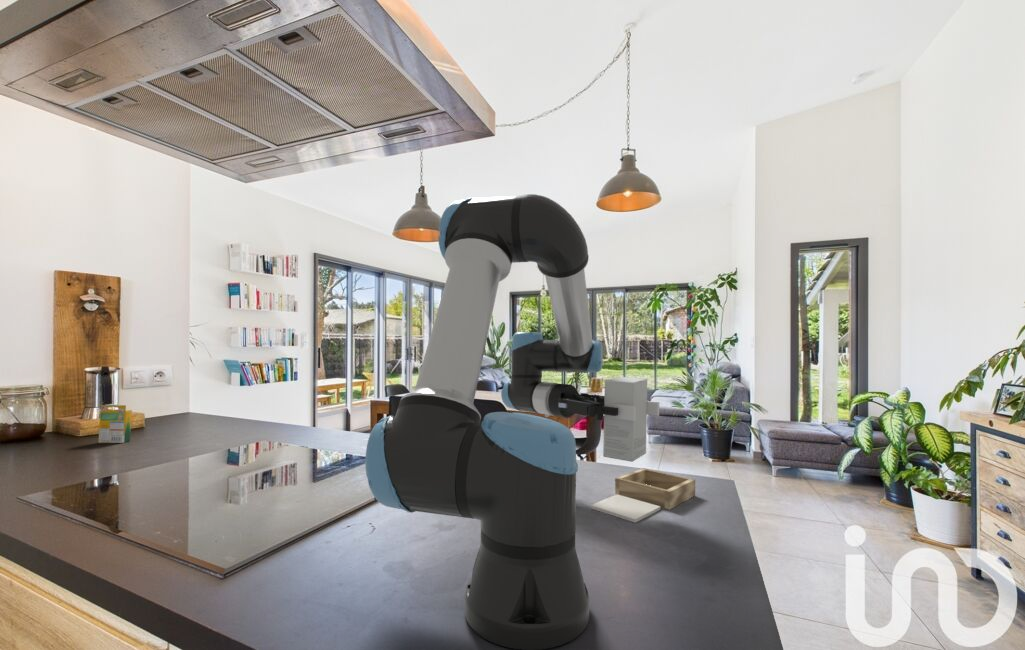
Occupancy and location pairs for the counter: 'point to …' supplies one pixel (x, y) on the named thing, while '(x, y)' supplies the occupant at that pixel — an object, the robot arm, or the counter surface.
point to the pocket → (655, 487)
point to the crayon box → (114, 424)
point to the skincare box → (622, 434)
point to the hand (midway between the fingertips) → (647, 411)
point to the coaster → (625, 508)
